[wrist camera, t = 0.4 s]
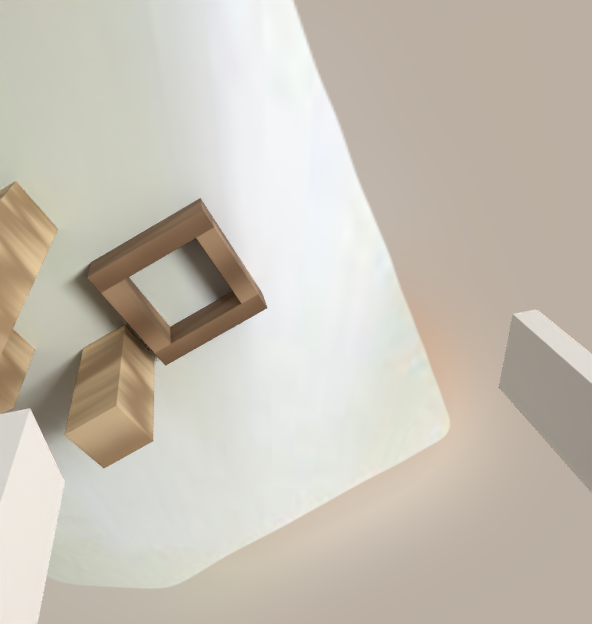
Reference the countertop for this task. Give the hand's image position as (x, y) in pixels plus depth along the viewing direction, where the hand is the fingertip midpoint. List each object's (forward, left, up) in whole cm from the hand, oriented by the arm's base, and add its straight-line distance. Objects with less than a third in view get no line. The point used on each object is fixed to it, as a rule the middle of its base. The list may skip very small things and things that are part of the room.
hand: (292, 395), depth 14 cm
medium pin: (+10, -15, -26) cm, 32 cm away
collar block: (+7, -7, -26) cm, 28 cm away
